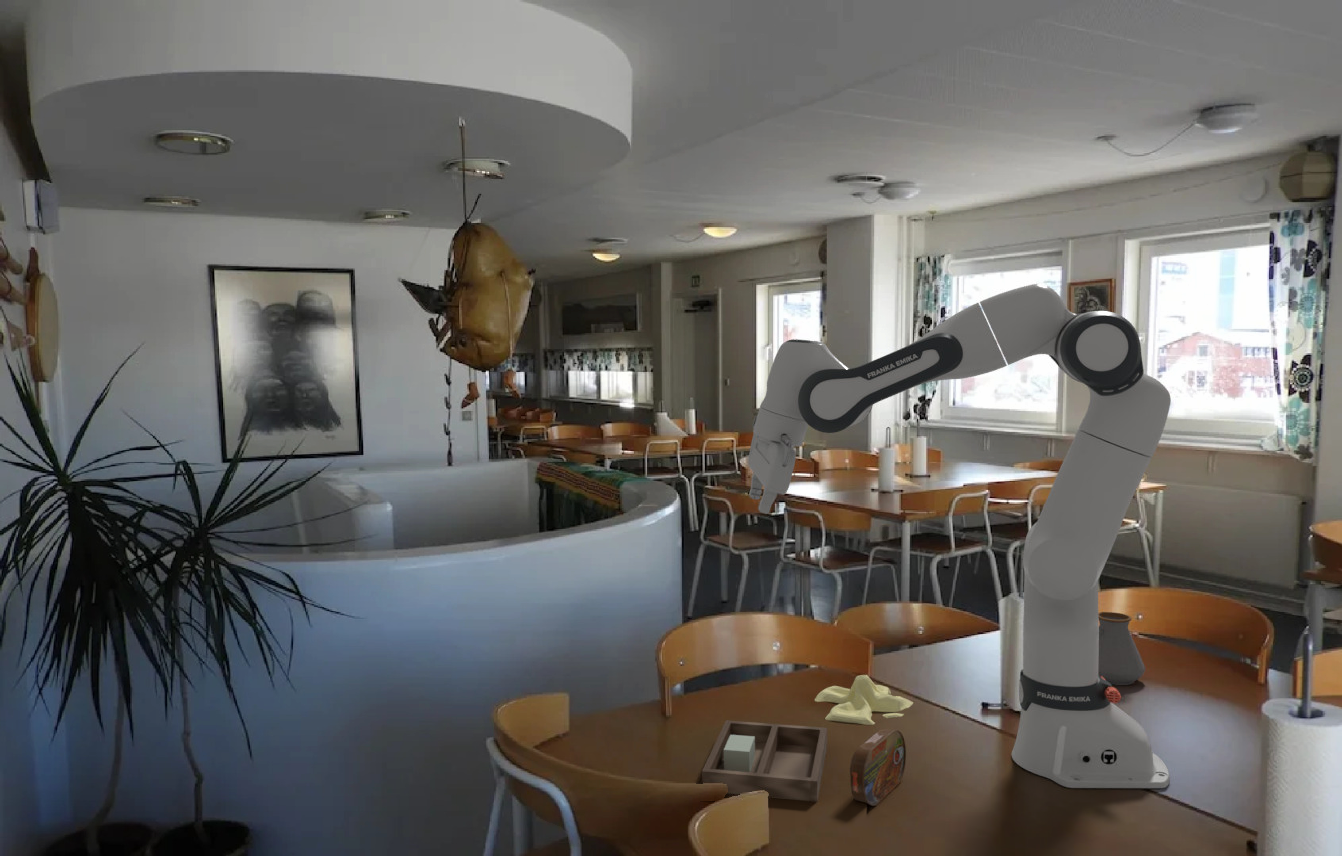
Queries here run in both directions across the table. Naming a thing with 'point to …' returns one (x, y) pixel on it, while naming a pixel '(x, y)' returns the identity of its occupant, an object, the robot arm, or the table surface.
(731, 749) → the sage block
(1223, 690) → the table surface
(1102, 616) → the coffee pot
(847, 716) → the cloth
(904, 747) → the tin
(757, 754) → the caddy
